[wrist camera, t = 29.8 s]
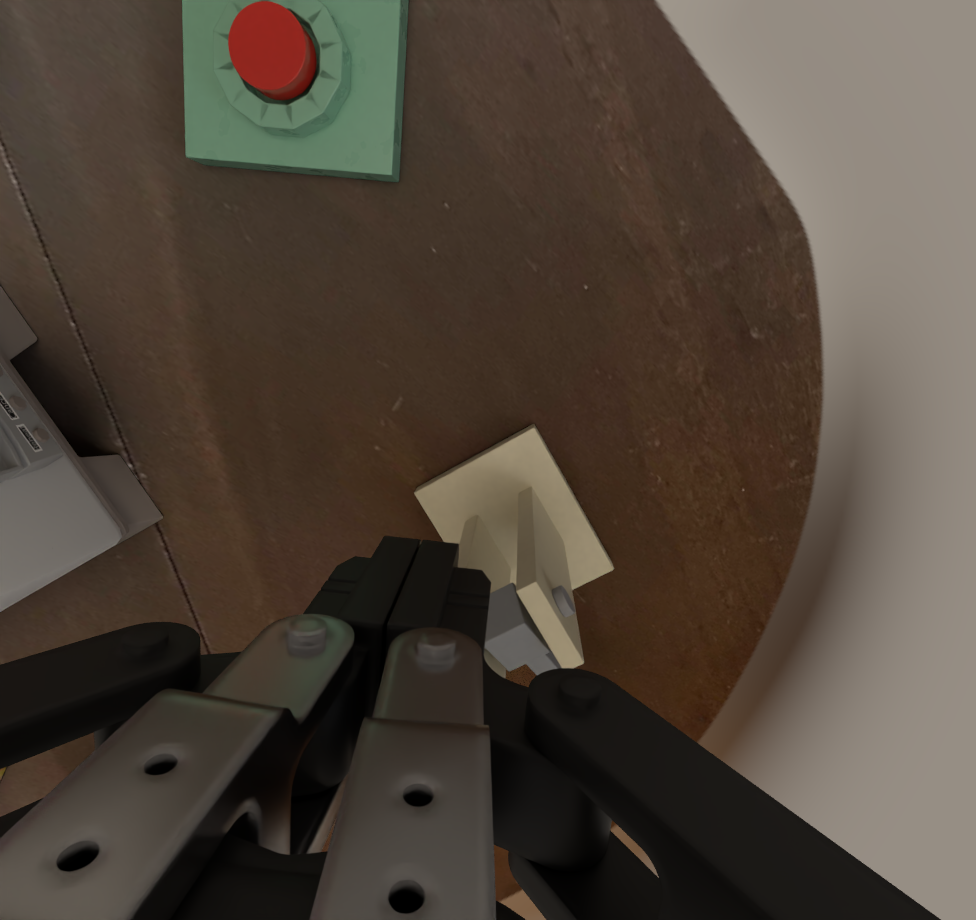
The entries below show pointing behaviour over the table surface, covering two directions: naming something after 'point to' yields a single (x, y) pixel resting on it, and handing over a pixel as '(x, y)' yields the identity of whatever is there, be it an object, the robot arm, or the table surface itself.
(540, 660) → the lever
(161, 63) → the table surface
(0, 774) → the candy box
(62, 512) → the toaster
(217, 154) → the box
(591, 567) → the bracket
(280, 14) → the button
